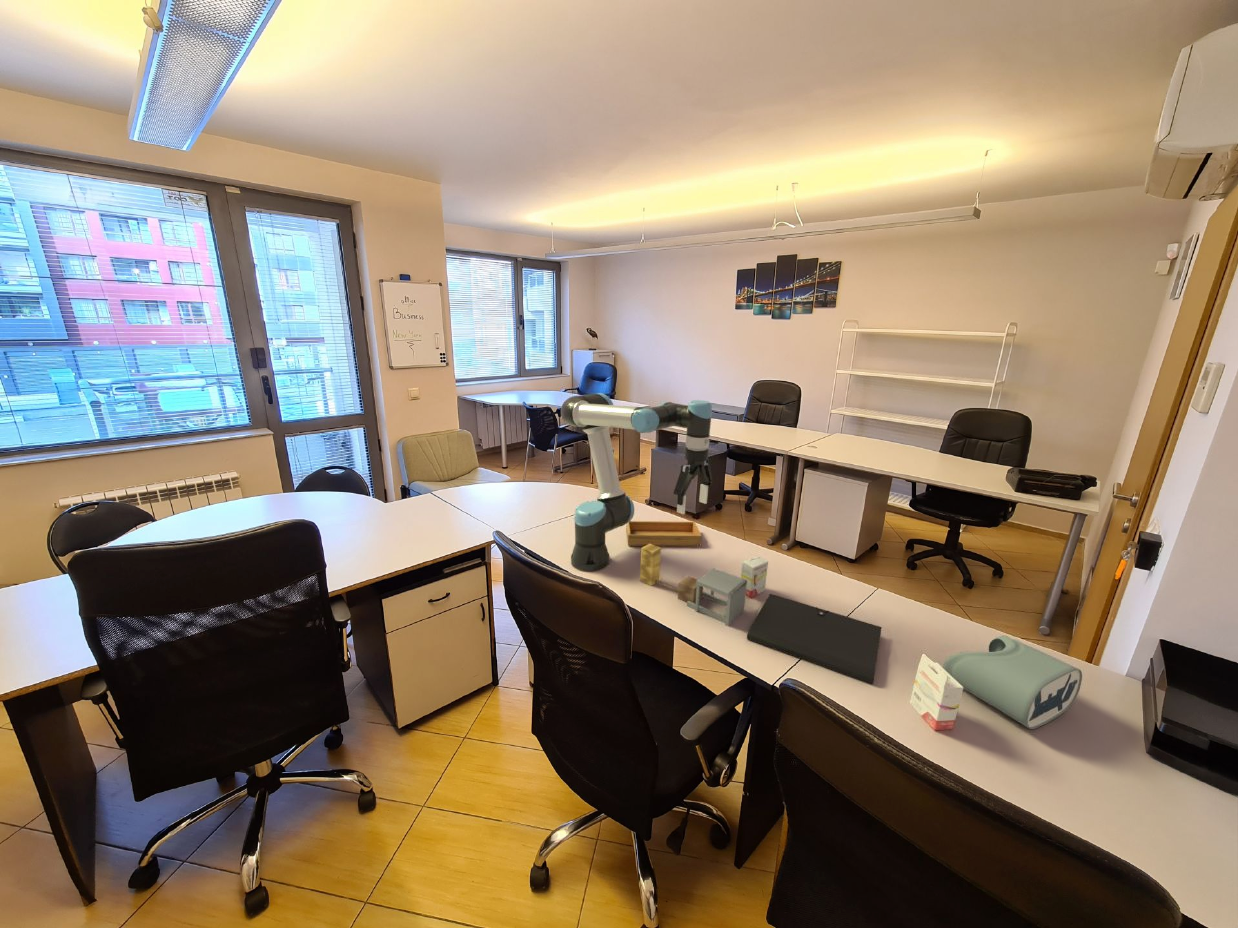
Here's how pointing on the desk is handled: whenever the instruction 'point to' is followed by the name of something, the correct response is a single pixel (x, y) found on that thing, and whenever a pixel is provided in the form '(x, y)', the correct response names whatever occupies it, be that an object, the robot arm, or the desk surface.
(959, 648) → the desk surface
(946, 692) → the ink cartridge box
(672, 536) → the tray
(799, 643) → the file folder
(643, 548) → the block
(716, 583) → the box
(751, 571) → the ink box
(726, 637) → the desk surface
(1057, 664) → the green hollow piece
